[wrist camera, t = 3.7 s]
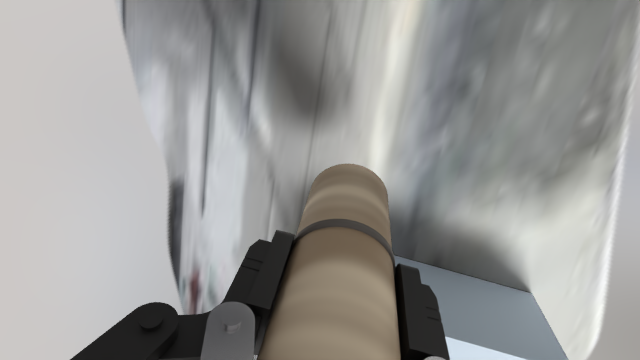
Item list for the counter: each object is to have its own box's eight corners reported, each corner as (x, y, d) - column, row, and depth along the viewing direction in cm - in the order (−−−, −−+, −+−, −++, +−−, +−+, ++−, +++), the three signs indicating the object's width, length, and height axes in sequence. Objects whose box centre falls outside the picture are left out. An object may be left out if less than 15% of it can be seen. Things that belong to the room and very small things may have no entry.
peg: (318, 152, 16) (160, 610, 4) (400, 174, 16) (489, 702, 4) (301, 219, 18) (163, 658, 6) (374, 239, 18) (382, 719, 6)
